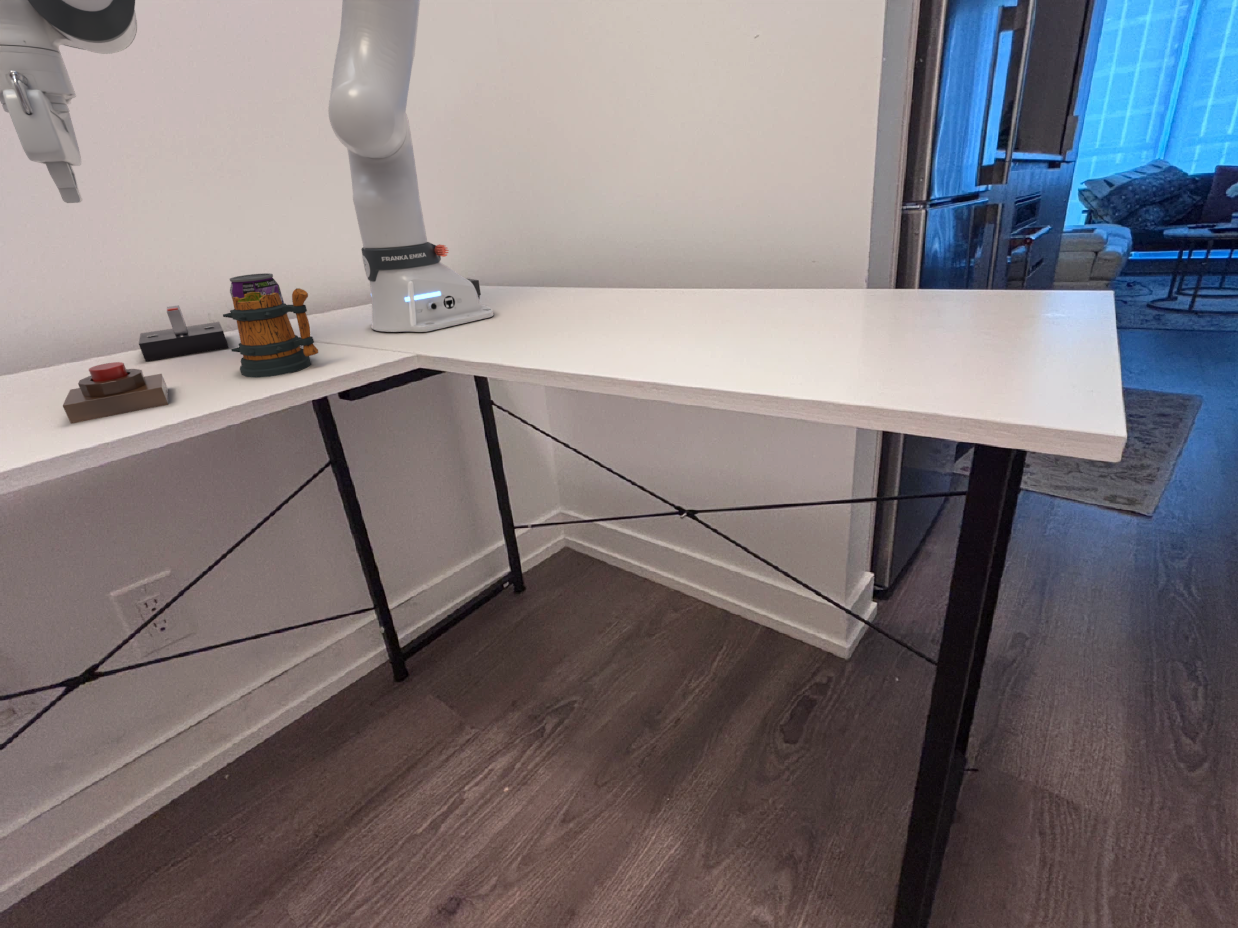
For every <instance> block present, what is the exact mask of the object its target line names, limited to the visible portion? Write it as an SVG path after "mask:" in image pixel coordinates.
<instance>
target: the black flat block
mask: <svg viewBox="0 0 1238 928" xmlns="http://www.w3.org/2000/svg"><path fill="white" fill-rule="evenodd" d="M186 326H187V332H188V334H181V335H175V333H174V331H173V328H167V329H162V330H161V329H159V330H154V331H146V332H140V333H139V340H138V346H139V348H140V351H141V354H142V356H143V359H144V361H145V363H146V362H147V363H148V362H153V361H160V360H165V359H171V358H176V357H183V356H189V355H196V354H201V353H208V352H213V351H219V350H225V349H229V348H230V347H229V344H228V340H227V337H226V334H225V332H224V329H223V327H222V325H221V323H220V321H215V322H207V323H203V324H201V323H200V324H195V325H189V326H188V325H186Z"/></svg>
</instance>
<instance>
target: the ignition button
mask: <svg viewBox="0 0 1238 928" xmlns="http://www.w3.org/2000/svg"><path fill="white" fill-rule="evenodd" d="M126 369H127V368H126V366H125V363H124V362H120V361H117V362H116V361H115V362H107V363H102V364H97V365H94V366H91V367H89V368H88V372H89V374H90V376H91V377H92V379H93V381H94V382H98V381H107V380H113V379H117V378H121V377H124V376H127V375H128V373H127V370H126Z"/></svg>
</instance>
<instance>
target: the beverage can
mask: <svg viewBox="0 0 1238 928" xmlns="http://www.w3.org/2000/svg"><path fill="white" fill-rule="evenodd" d="M229 282H230V287H229V293H230V296H231V298H232V297H238V298H239V299H240V298H244V294H247V293H250V292H261V295H266V294H268V295H271V294H272V293H278V294H279V296H280V298H281V301H282V303H285V301H284V297H283V294H282V291H281V288H280V284H279V283H278V282H277V281H276V280H275V278H274V275H273V273H269V272H267V273H252V274H243V275H237V276H232V277H230V278H229ZM287 316H288V314H287ZM288 317H289V316H288Z"/></svg>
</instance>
